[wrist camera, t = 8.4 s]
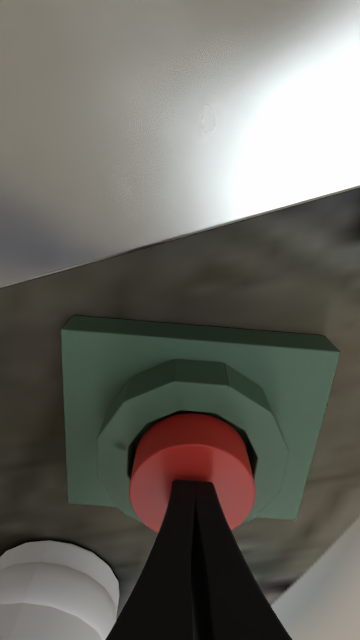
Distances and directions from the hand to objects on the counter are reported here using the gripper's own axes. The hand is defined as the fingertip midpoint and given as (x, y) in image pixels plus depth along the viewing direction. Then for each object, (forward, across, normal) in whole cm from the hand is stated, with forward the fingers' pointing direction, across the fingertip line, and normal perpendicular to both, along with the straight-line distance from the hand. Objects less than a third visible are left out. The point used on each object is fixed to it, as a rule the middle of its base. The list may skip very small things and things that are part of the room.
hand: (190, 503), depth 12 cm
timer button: (+2, 0, 0) cm, 2 cm away
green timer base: (+5, 0, 0) cm, 5 cm away
